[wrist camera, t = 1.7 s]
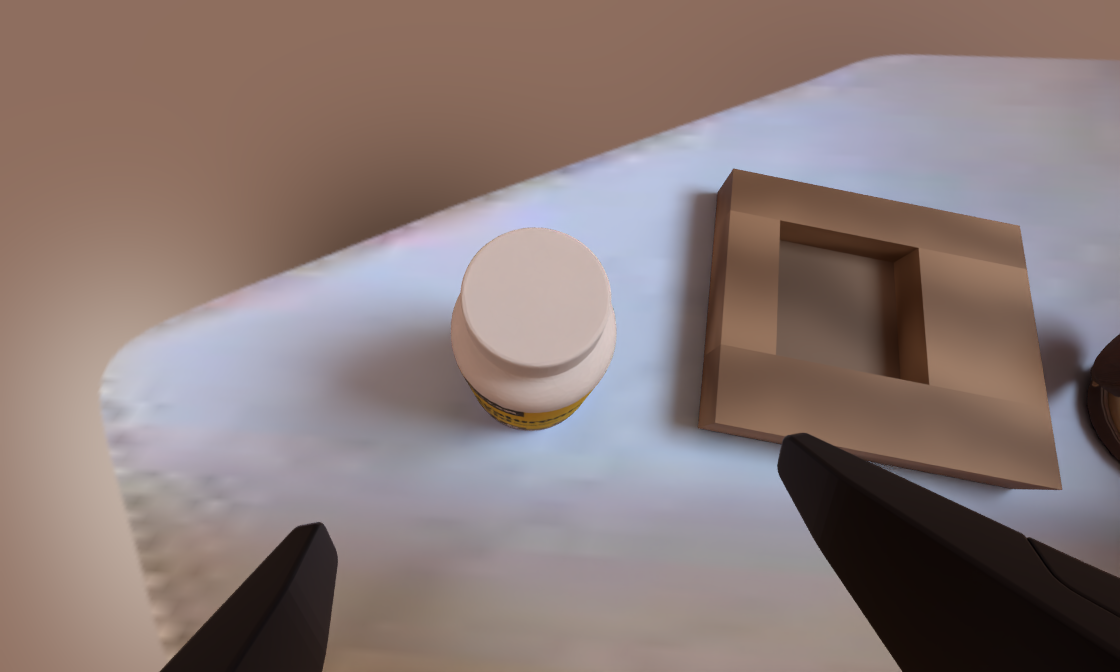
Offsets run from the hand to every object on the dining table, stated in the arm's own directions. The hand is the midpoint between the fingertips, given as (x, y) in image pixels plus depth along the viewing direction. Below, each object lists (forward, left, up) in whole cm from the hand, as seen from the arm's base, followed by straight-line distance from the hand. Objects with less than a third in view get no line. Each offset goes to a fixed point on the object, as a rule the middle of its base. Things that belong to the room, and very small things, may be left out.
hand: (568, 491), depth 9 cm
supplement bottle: (+5, +2, -12) cm, 13 cm away
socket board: (+10, -14, -11) cm, 21 cm away
